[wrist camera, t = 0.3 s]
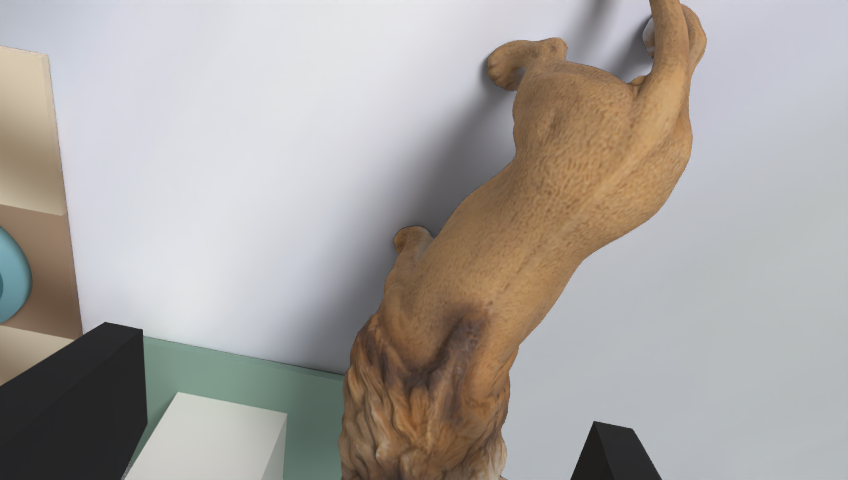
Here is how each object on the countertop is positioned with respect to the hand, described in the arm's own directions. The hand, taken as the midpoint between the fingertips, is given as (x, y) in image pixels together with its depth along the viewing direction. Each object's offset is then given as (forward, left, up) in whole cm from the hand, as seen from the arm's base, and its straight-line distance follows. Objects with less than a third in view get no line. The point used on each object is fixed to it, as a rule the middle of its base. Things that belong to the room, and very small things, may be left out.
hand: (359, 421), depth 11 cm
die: (-12, +5, -10) cm, 17 cm away
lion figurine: (0, -3, -10) cm, 11 cm away
